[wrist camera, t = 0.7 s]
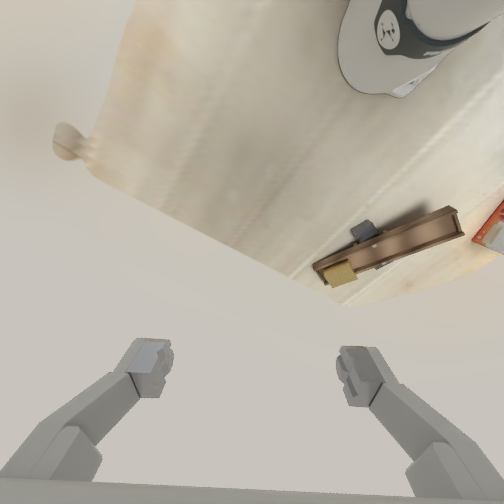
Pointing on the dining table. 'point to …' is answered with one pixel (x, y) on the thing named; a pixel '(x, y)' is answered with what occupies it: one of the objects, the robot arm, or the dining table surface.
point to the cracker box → (493, 231)
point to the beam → (398, 242)
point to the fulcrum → (366, 234)
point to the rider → (340, 273)
